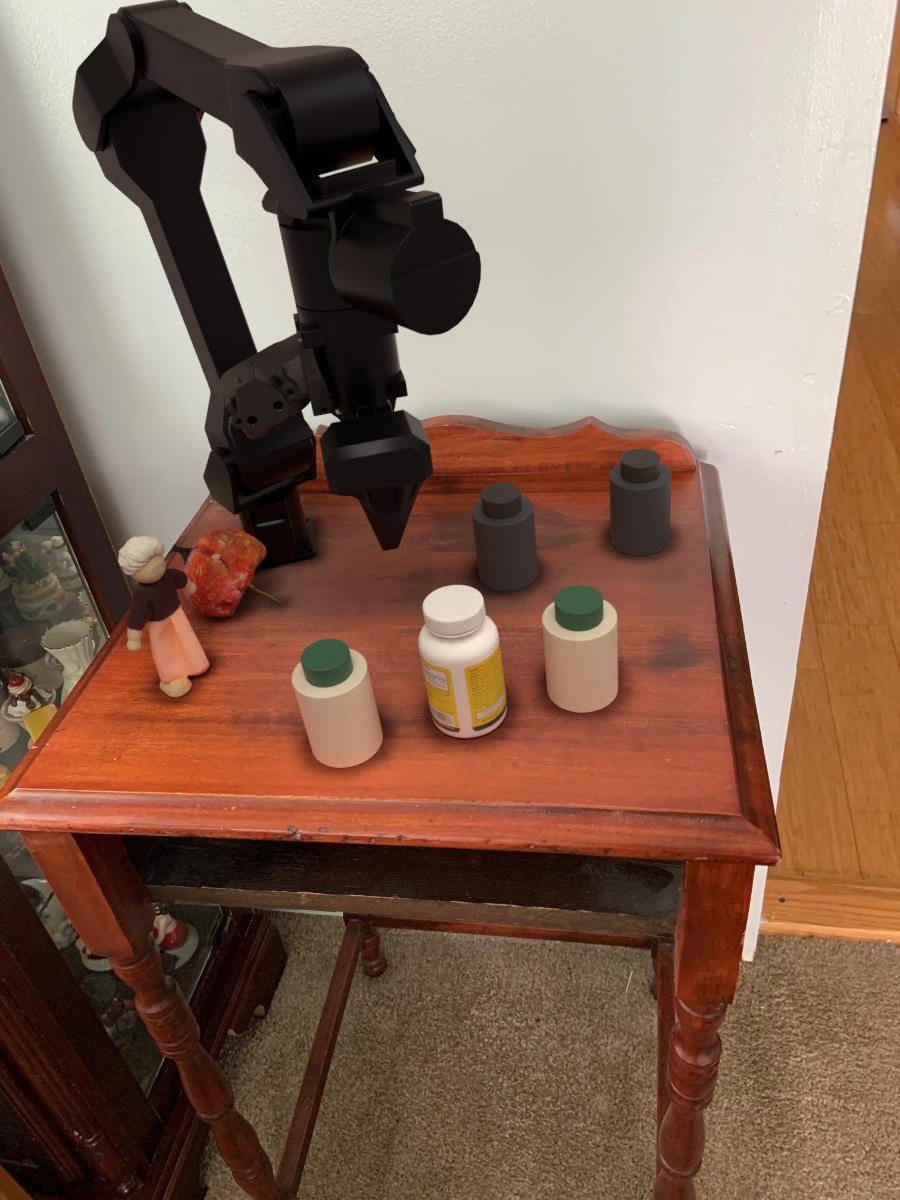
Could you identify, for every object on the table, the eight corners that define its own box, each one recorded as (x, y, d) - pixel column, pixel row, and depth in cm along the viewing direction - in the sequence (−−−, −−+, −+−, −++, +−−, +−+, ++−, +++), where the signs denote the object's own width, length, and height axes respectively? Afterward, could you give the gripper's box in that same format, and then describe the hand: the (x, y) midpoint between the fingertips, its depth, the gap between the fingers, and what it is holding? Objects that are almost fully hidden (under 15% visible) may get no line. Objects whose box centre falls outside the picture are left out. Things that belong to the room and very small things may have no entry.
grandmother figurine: (190, 708, 68) (135, 569, 60) (144, 705, 69) (84, 568, 61) (230, 642, 74) (184, 509, 66) (187, 640, 75) (138, 508, 67)
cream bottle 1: (309, 725, 65) (284, 638, 60) (378, 709, 65) (358, 622, 61) (314, 775, 61) (288, 687, 56) (387, 758, 61) (367, 670, 57)
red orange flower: (284, 596, 82) (186, 538, 80) (312, 551, 77) (208, 488, 75) (248, 655, 77) (143, 595, 75) (276, 611, 72) (164, 545, 70)
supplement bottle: (509, 686, 66) (498, 576, 60) (505, 740, 61) (492, 627, 56) (436, 687, 67) (417, 579, 61) (426, 741, 62) (405, 630, 56)
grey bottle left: (473, 564, 79) (463, 484, 74) (529, 553, 79) (523, 472, 74) (486, 597, 75) (477, 514, 70) (545, 584, 75) (539, 501, 70)
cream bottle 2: (538, 673, 66) (531, 585, 62) (604, 659, 67) (602, 570, 62) (558, 719, 62) (552, 629, 58) (628, 703, 63) (628, 612, 58)
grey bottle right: (602, 531, 81) (601, 450, 76) (656, 519, 81) (658, 438, 76) (622, 560, 77) (621, 477, 72) (678, 548, 77) (681, 465, 72)
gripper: (211, 272, 62) (264, 473, 71) (205, 378, 47) (273, 615, 56) (372, 244, 63) (404, 447, 72) (417, 340, 48) (448, 579, 57)
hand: (381, 513), depth 64 cm, fingers open, 9 cm apart
